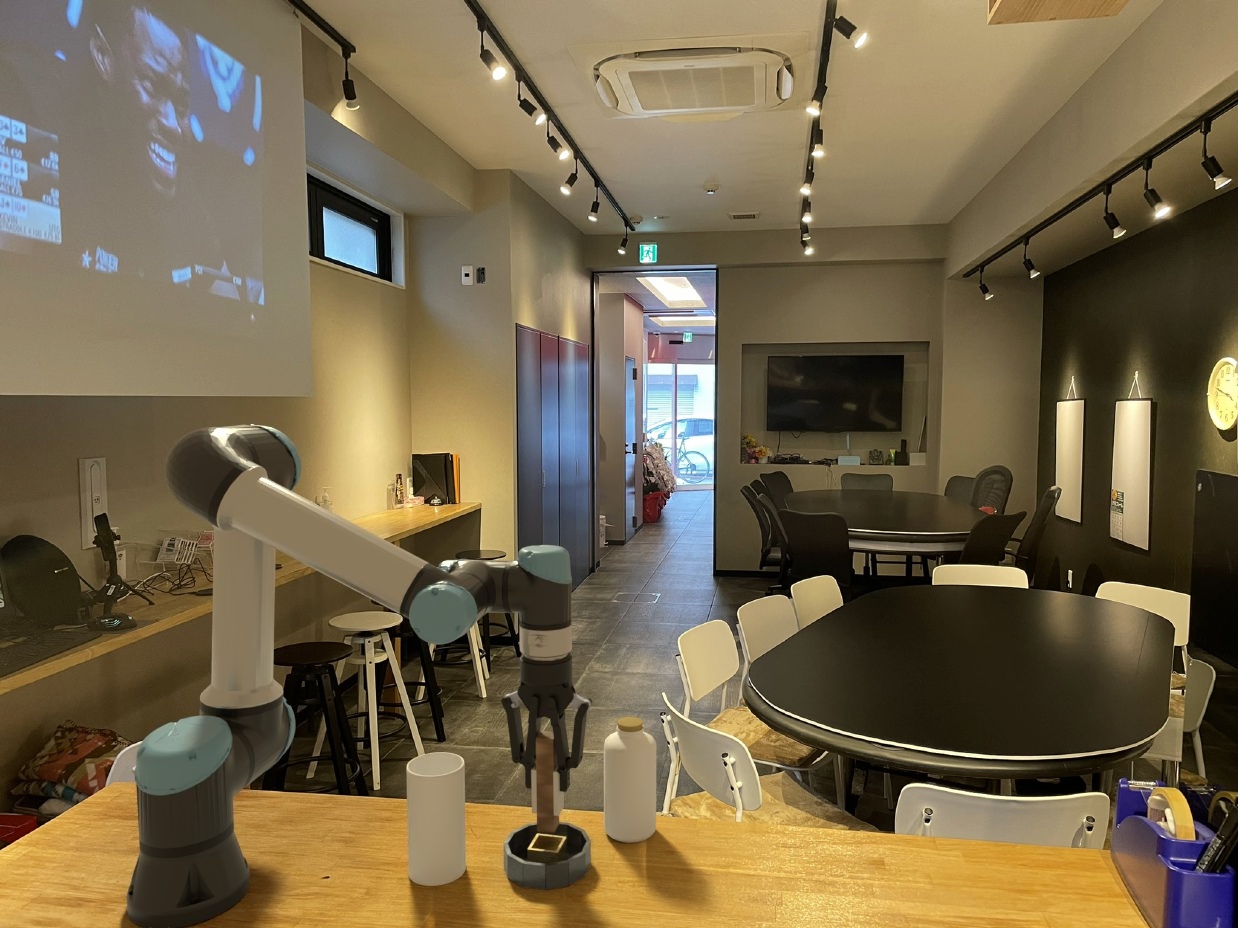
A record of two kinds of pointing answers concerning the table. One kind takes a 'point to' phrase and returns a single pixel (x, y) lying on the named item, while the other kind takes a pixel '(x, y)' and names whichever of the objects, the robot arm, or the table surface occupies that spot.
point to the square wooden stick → (545, 782)
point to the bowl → (547, 856)
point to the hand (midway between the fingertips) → (547, 809)
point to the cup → (436, 818)
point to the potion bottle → (630, 782)
